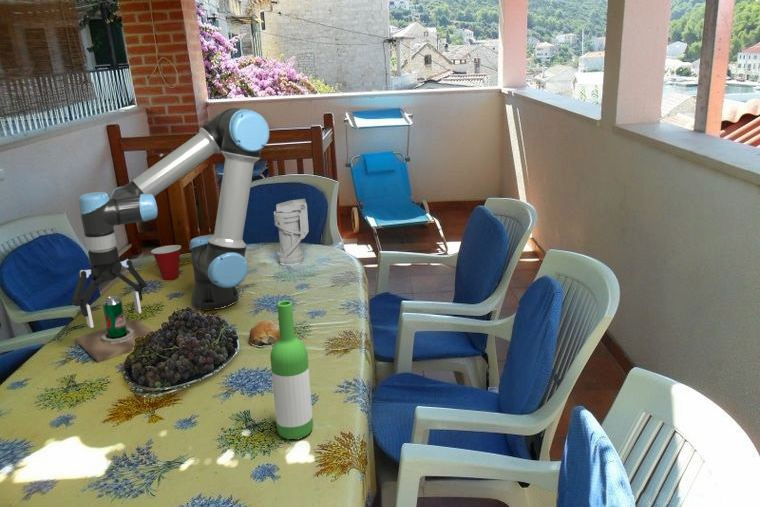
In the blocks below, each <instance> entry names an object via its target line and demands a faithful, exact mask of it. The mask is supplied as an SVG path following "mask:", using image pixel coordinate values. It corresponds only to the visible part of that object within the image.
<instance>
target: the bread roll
mask: <svg viewBox="0 0 760 507" xmlns="http://www.w3.org/2000/svg"><path fill="white" fill-rule="evenodd" d="M248 338H249V342H251V343H252V344H254V345H258V346H263V345H271V344H275V343H276V342H277V341H278V340H279V339H280V331H279V322H277V321H275V320H273V319H261V320H260V321H258V322H257V323H255V324H254V326H253V327H251V329H250V331H249V337H248ZM251 343H250V344H251ZM252 344H251V345H252Z"/></svg>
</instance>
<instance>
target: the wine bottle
mask: <svg viewBox="0 0 760 507" xmlns="http://www.w3.org/2000/svg"><path fill="white" fill-rule="evenodd" d="M293 311H294V310H293V303H292V301H291V300H280V301H278V303H277V316H278V318H277V319H278V323H279V331H280V339H279V340H278V341H277V342H276V343H275V344H274V346H272V348H271V351H270V355H269V356H270V367H271V368H270V370H271V378H272V380H271V381H272V389H273V390H272V391H273V401H274V411H275V421H276V430H277V431H276V432H277V433H278V435H279V436H280V437H281V436H282V438H283V437H284V438H283V439H285V438H286V439H285V440H289V439H297V440H299V439H298V438H301V437H304V436H306V435H307V436H308V435H309V434H310V433H311V432H312V431H313V427H314V420H313V406H312V404H313V403H312V394H311V382H310V381H311V380H310V367H309V366H310V365H309V354H308V349H307V347H306V345H305V344H304V343H303V342H302V340H301V339H299V338H297V337H296V335H295V334H296V333H295V324H294V312H293ZM307 436H306V437H307ZM304 438H305V437H304ZM301 439H302V438H301Z"/></svg>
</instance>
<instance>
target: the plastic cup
mask: <svg viewBox="0 0 760 507" xmlns="http://www.w3.org/2000/svg"><path fill="white" fill-rule="evenodd" d="M181 249H182V245H179V244H174V245H173V244H172V245H163V246H160V247H156V248H154V249H152V250H150V252H151V254H152V255H153V257H154V259H155V261H156V264H157V267H158V270H159V273H160V275H161V278H162V281H166V280H169V281H174V280H177V279H178V278H179V276H180V255H181Z"/></svg>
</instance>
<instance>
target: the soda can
mask: <svg viewBox="0 0 760 507" xmlns="http://www.w3.org/2000/svg"><path fill="white" fill-rule="evenodd" d="M102 301H103V302H102V309H103V314H104V319H105V324H106V328H107V331H108V336H109V338H110V339H118V338H122V337H125V336H126V335H127V328H126V318H125V312H124V307H123V301H122V300H121V298H120V296H116V295H115V296H114V295H113V296H108V297H105V298H103V300H102Z"/></svg>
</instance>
